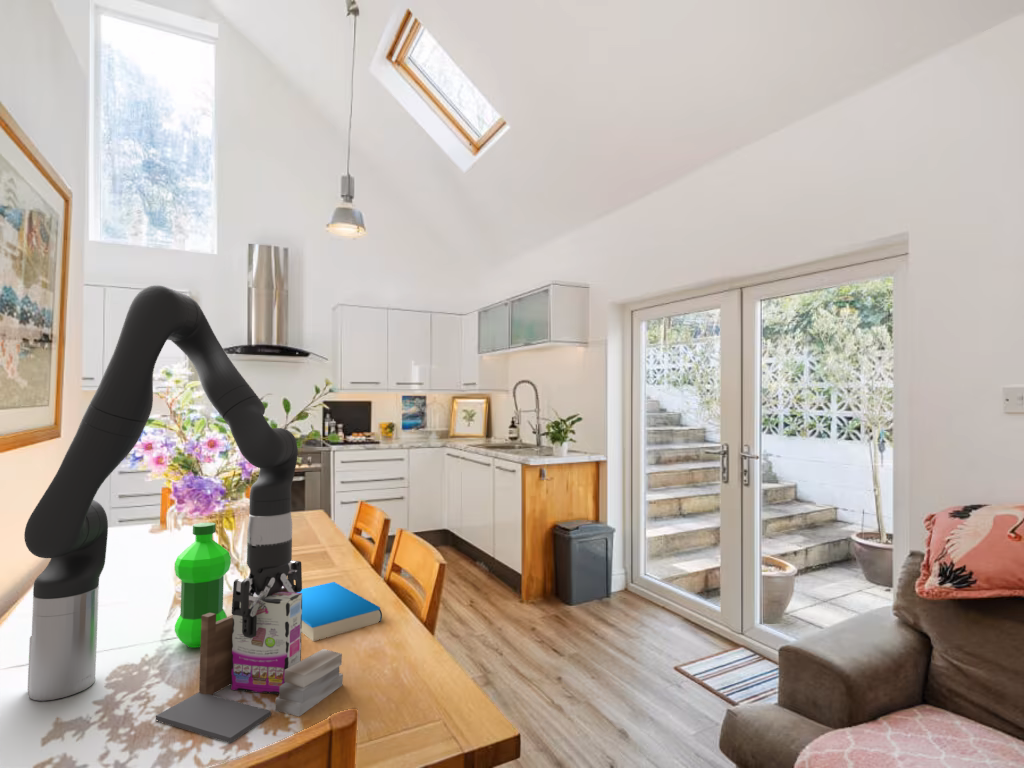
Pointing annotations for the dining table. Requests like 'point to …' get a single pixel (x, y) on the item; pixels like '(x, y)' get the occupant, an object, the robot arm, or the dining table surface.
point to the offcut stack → (309, 682)
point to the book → (335, 611)
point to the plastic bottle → (200, 583)
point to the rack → (215, 653)
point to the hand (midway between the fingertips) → (268, 627)
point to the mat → (214, 716)
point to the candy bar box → (267, 644)
